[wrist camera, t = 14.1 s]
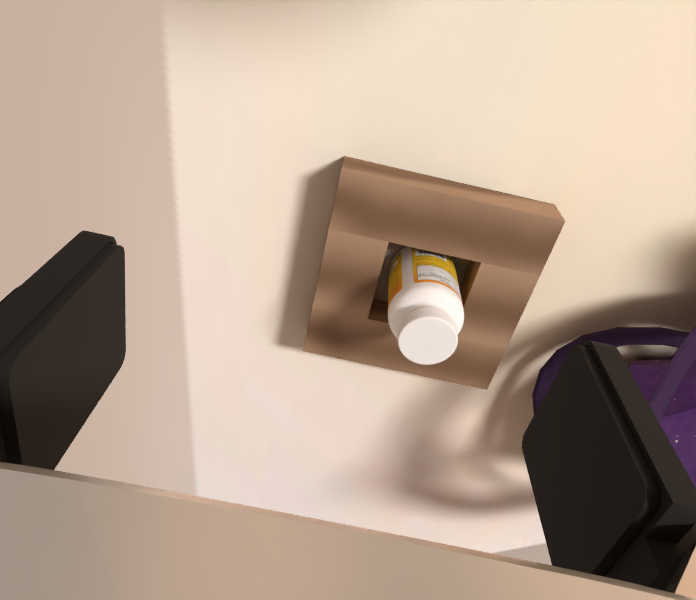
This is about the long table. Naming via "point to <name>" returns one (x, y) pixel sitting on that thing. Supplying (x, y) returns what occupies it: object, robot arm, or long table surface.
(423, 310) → the supplement bottle
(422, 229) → the socket block
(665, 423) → the purple looped device
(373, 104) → the long table surface
